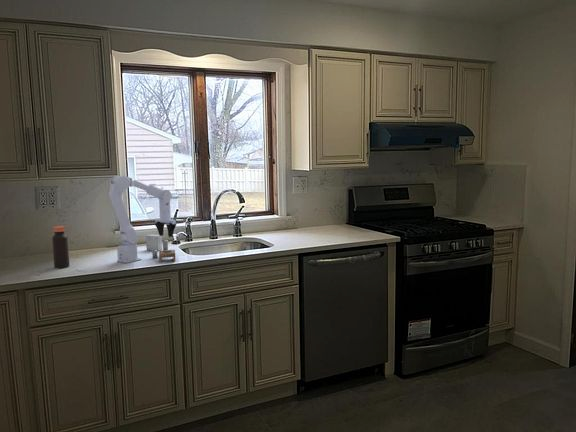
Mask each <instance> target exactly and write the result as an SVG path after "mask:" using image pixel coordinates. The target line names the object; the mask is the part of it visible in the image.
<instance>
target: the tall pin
mask: <svg viewBox="0 0 576 432" xmlns="http://www.w3.org/2000/svg"><path fill="white" fill-rule="evenodd" d="M168 241H169V240H167V239H165V240H162V250H169V245H168V244H169V242H168Z"/></svg>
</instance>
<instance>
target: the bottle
mask: <svg viewBox="0 0 576 432" xmlns="http://www.w3.org/2000/svg"><path fill="white" fill-rule="evenodd" d="M65 229H66V226H65V225H63V226H62V225H59V226H53V233H54V235H53V236H52V237H51V241H52V254H53V267H54V269H64V268H65V269H66V268H69V267H70V256H69V240H68V236H67V234H65V231H66V230H65Z"/></svg>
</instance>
